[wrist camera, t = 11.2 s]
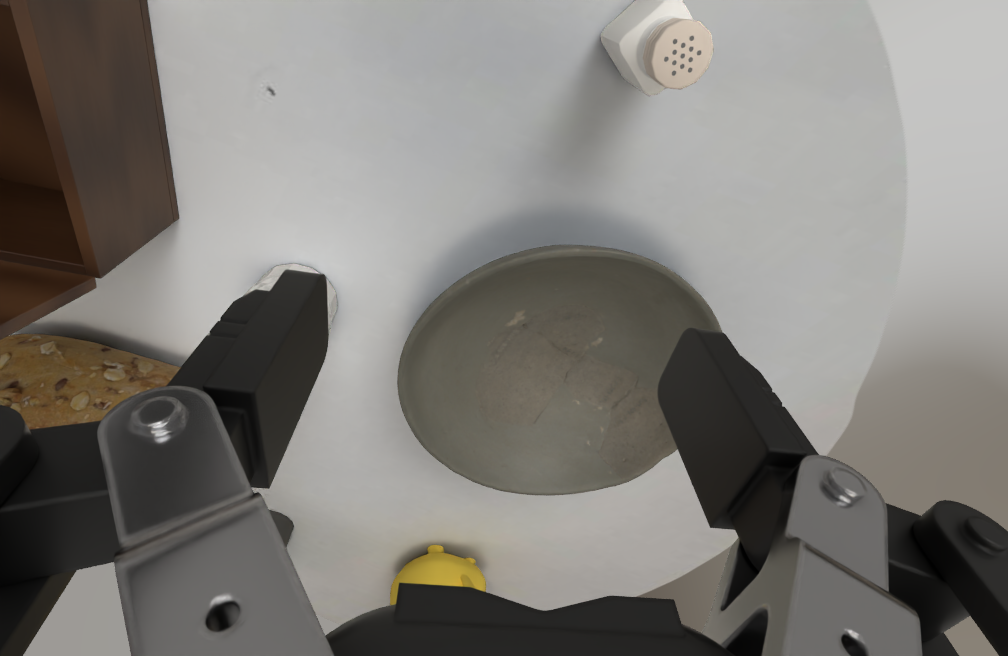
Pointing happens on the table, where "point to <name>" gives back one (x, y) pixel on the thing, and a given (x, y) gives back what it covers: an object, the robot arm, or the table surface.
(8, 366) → the bread
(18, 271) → the lid
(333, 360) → the table surface
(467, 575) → the teapot
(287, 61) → the table surface
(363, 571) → the table surface
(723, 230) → the table surface
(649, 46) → the pepper shaker
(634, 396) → the bowl
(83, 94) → the compartment
